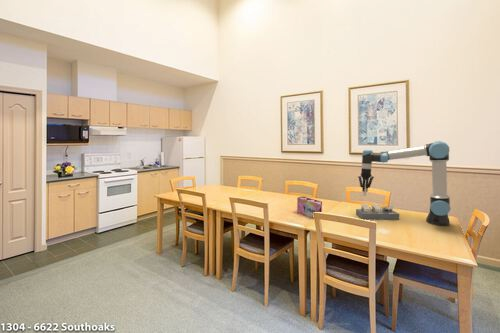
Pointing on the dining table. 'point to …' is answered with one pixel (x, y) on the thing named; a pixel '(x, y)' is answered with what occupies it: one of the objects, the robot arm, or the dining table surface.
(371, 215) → the console
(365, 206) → the switch
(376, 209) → the switch
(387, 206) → the switch
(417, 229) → the dining table surface
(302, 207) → the gum box
